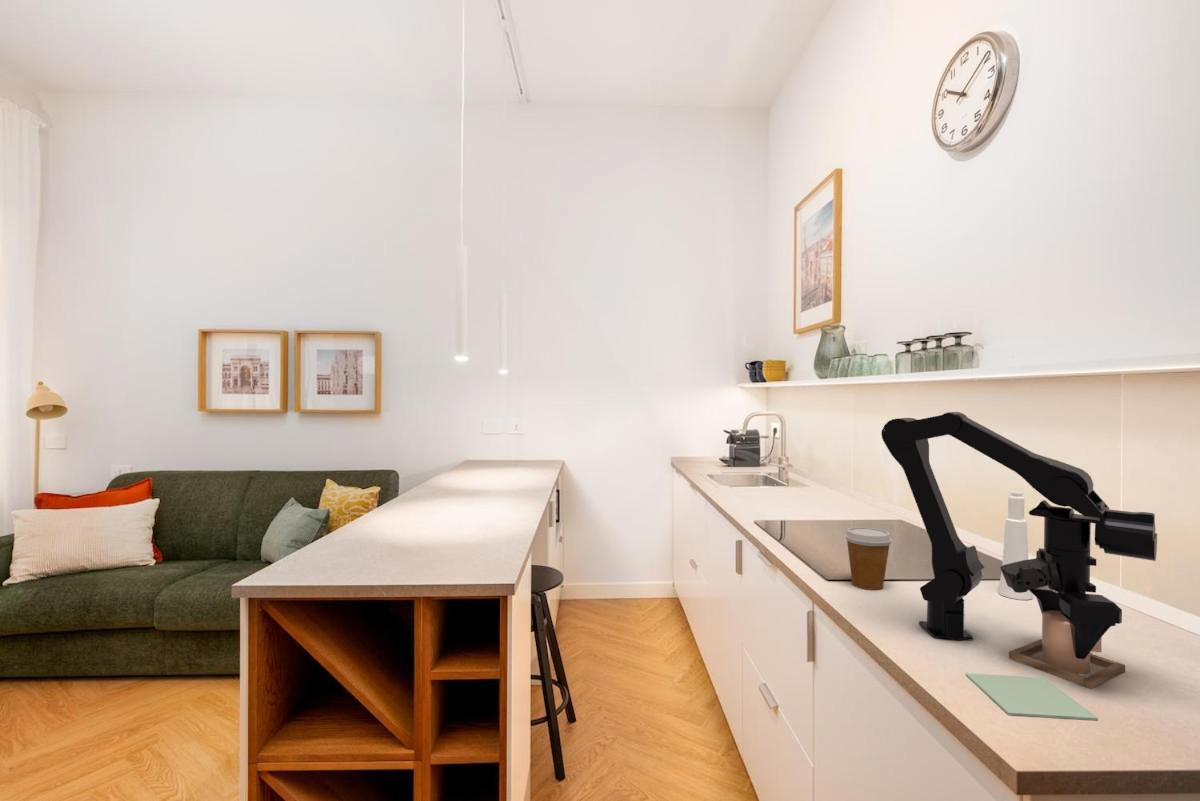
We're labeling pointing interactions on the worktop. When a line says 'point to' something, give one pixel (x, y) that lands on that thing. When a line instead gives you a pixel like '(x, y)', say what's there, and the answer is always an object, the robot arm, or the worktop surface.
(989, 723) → the worktop surface
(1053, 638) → the peach round cylinder
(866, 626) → the worktop surface
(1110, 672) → the walnut collar
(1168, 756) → the worktop surface
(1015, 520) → the cosmetic bottle
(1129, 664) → the worktop surface
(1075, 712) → the sage mat
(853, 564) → the disposable coffee cup
